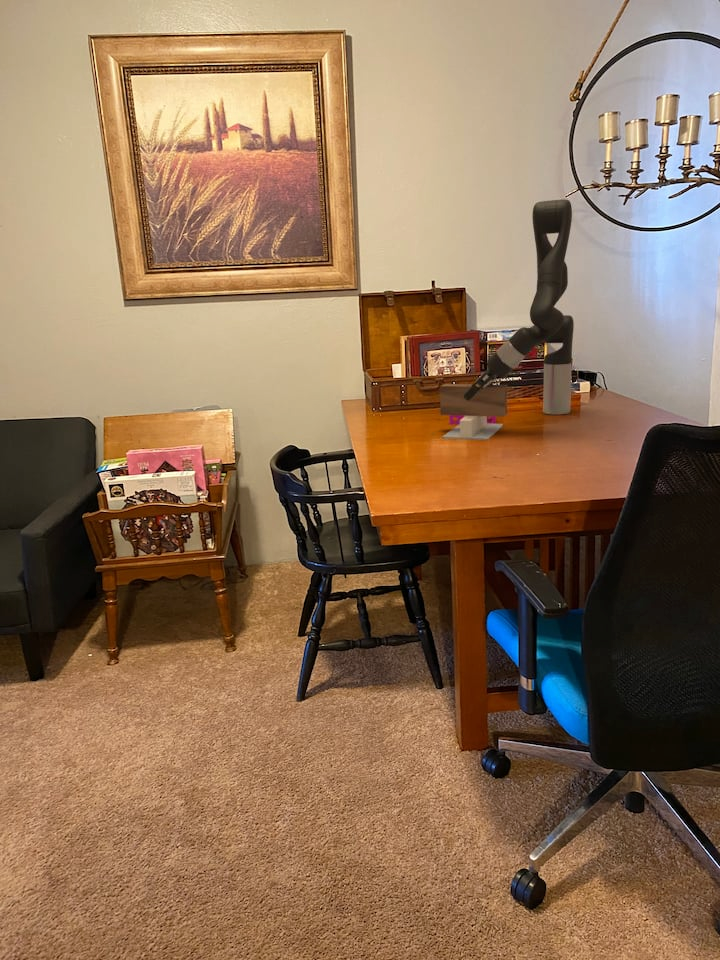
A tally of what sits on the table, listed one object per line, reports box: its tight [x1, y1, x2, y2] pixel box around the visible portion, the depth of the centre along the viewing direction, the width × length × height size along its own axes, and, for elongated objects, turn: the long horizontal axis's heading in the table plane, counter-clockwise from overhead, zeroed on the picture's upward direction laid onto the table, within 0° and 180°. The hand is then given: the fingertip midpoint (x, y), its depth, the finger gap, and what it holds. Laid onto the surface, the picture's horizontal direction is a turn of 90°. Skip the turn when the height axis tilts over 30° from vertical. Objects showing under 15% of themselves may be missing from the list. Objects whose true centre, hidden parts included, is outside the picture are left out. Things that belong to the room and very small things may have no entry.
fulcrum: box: [441, 416, 504, 441], centre depth 216 cm, size 22×14×6 cm, turn 157°
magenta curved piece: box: [448, 415, 496, 425], centre depth 230 cm, size 15×6×8 cm, turn 80°
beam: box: [439, 383, 508, 418], centre depth 214 cm, size 4×20×9 cm, turn 67°
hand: (469, 396), depth 214 cm, fingers open, 8 cm apart
